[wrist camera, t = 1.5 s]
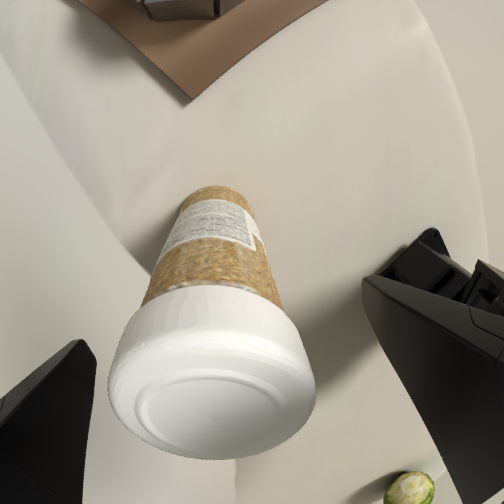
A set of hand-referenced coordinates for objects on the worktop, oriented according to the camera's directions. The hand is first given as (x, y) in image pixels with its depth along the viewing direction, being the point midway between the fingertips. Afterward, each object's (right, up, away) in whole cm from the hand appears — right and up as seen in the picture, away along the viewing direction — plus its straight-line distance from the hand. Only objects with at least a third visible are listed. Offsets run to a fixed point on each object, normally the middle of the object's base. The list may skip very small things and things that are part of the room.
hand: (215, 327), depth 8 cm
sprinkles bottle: (-1, +4, +9) cm, 10 cm away
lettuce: (+32, -45, +34) cm, 65 cm away
